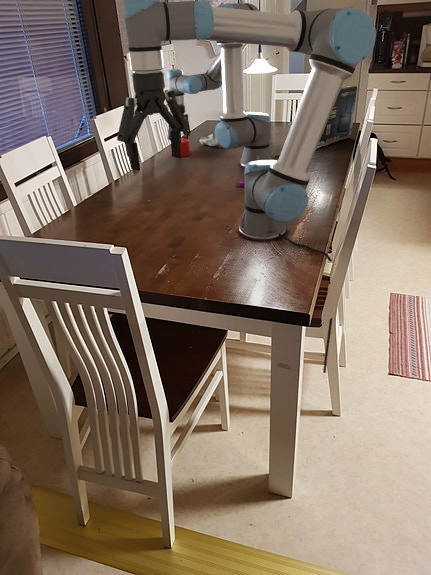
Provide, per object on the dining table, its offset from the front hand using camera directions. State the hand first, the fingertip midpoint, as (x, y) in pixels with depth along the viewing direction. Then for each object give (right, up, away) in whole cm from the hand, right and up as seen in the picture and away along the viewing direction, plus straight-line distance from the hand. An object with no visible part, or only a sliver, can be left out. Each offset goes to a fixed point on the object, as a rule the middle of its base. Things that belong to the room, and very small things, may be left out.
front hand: (156, 163), depth 117 cm
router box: (+74, +45, +128) cm, 155 cm away
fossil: (+15, +47, +134) cm, 143 cm away
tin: (-3, +37, +119) cm, 125 cm away
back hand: (-3, +38, +118) cm, 124 cm away
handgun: (+30, +7, +67) cm, 74 cm away
